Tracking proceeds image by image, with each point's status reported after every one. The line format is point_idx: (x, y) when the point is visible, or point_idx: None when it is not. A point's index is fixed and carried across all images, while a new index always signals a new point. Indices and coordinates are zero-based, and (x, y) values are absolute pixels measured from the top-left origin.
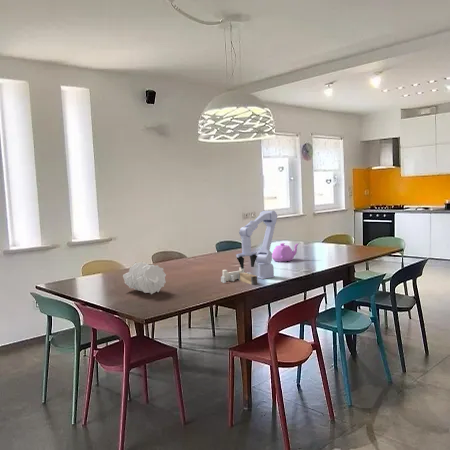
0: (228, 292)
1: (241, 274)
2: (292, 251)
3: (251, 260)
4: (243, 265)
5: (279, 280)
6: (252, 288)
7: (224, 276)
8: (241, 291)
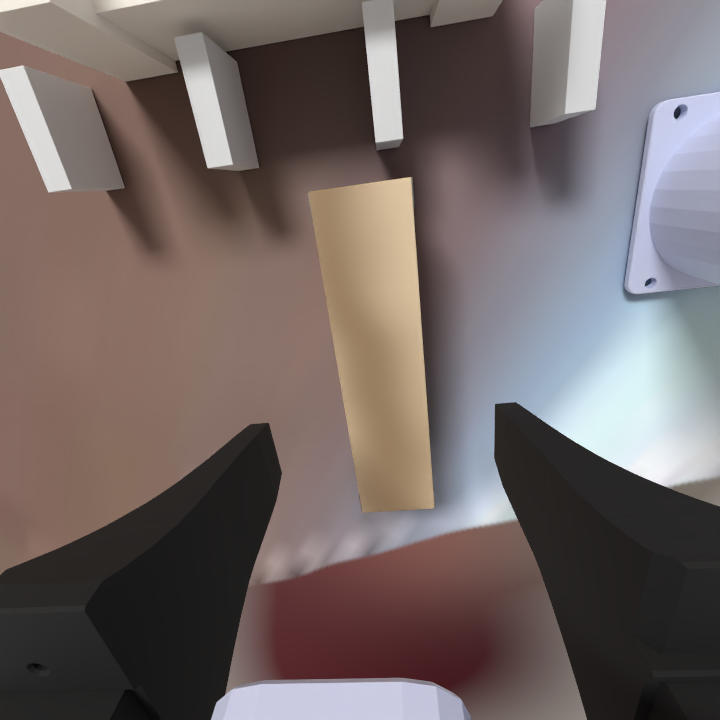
0: None
1: (323, 272)
2: None
3: (554, 512)
4: (260, 531)
5: (696, 448)
6: (302, 553)
7: (73, 59)
8: None
